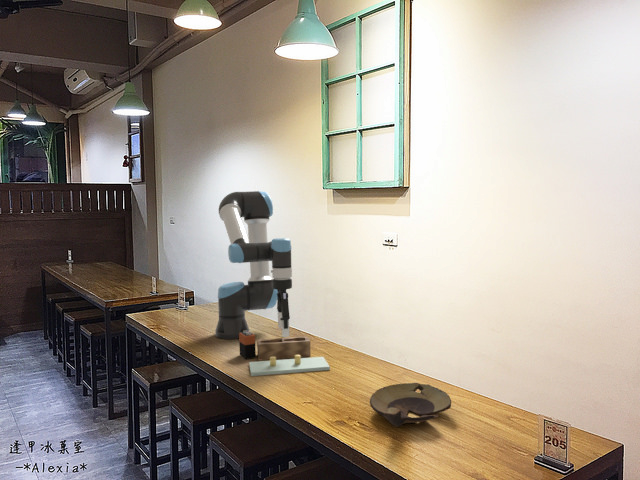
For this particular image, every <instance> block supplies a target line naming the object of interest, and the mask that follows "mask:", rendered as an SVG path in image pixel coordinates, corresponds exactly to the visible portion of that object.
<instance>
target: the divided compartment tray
mask: <svg viewBox="0 0 640 480" xmlns="http://www.w3.org/2000/svg"><path fill="white" fill-rule="evenodd" d="M256 341H257V342H256V345H257V358H258V361H266V360H270V357H276V360H280V359H293V358H295V355H301V358H307V357H311V355H312V354H311V340H310V338H309V337H308V336H293V337H291V336H289V337H278V338H263V339H256Z"/></svg>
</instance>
